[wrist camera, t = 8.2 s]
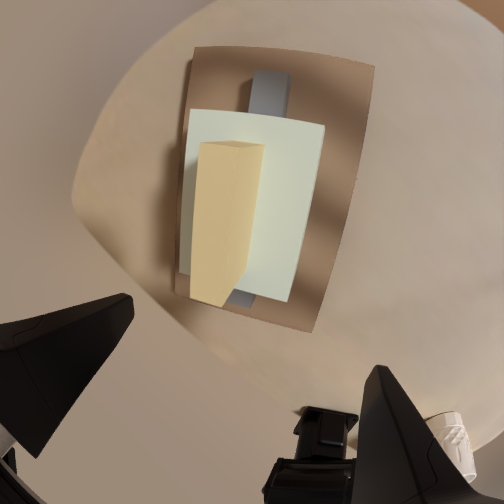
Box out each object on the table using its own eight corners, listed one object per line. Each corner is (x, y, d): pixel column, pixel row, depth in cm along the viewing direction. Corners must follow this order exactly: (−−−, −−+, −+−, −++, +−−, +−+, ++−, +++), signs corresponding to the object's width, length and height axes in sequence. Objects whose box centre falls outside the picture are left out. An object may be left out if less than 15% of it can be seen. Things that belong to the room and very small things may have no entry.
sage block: (295, 271, 20) (272, 347, 13) (204, 248, 21) (145, 305, 14) (325, 128, 16) (322, 119, 8) (218, 113, 17) (146, 103, 10)
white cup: (474, 405, 22) (488, 467, 13) (450, 436, 25) (456, 492, 16) (424, 411, 24) (431, 482, 15) (403, 442, 27) (404, 502, 18)
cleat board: (313, 322, 23) (309, 345, 20) (182, 286, 25) (166, 303, 22) (371, 71, 14) (378, 60, 12) (203, 52, 16) (184, 41, 14)
